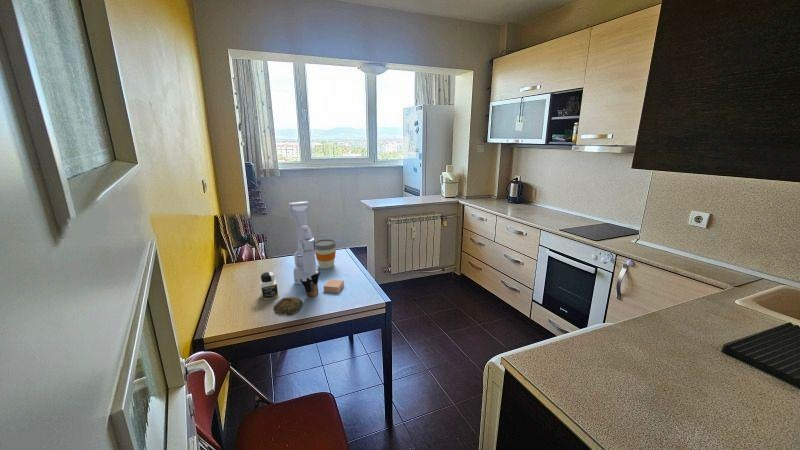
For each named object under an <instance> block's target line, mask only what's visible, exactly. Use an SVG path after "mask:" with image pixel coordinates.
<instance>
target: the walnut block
mask: <svg viewBox="0 0 800 450" xmlns="http://www.w3.org/2000/svg"><path fill="white" fill-rule="evenodd" d="M318 295H319V286H318V283H317V284H313V283H311V292H306V291H305V297H306V298H311V299H312V298H313V299H315V298H317V297H318Z"/></svg>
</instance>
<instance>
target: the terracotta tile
mask: <svg viewBox="0 0 800 450" xmlns="http://www.w3.org/2000/svg"><path fill="white" fill-rule="evenodd" d="M344 286H345V281H344V280H341V279H328V281H326V282H325V284H324V285H323V292H324V293H325V292H327V293H338V294H339V292H341V290H342V289H343V288H344Z"/></svg>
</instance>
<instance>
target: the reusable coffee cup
mask: <svg viewBox="0 0 800 450" xmlns="http://www.w3.org/2000/svg"><path fill="white" fill-rule="evenodd" d="M315 244H316V250H315V259H316V261H317V262H318V268H319V269H331V268H333V267H334V266H335V259H336V252H337V251H336V247H337V244H336V241H335V240H333V239H325V238H324V239H319V240H316V241H315Z"/></svg>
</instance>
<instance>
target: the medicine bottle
mask: <svg viewBox="0 0 800 450" xmlns="http://www.w3.org/2000/svg"><path fill="white" fill-rule="evenodd" d="M259 283H260V291H261V296H262V300H263V301H264V300H269V299H274V298H278V297H279V290H278V283H277V281H276V278H275V274H274V272H271V271H265V272H263V273H261V275H260V281H259Z"/></svg>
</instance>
